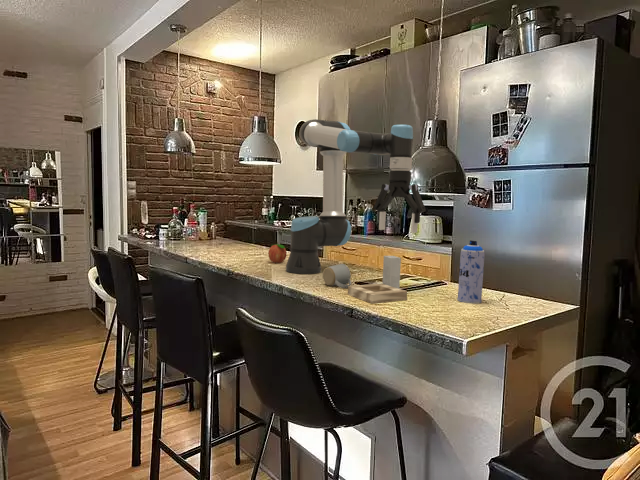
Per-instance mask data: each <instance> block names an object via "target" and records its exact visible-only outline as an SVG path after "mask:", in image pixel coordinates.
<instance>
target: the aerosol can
mask: <svg viewBox="0 0 640 480" xmlns="http://www.w3.org/2000/svg"><path fill="white" fill-rule="evenodd" d="M459 255H460V260H459V275H458V277H459V278H458V289H457V298H456V300H457V301H458V302H460V303H465V304H473V305H474V304H481V303H482V302H483V300H482V297H483V295H482V293H483V282H484V281H483V279H484V266H485V250H484V249H483V247H482V246H480V245H479V244H478V241H477V240H469V243H468V244H467V245H464V246H463V248H461V251H460V254H459Z"/></svg>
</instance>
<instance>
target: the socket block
mask: <svg viewBox="0 0 640 480" xmlns="http://www.w3.org/2000/svg"><path fill="white" fill-rule="evenodd" d="M382 283H383V282H382ZM382 283H371V284H361V285H359V284H358V285H351V286H348V288H347V295H349V296H350V297H351V296H352V297H353V298H356V299H359V300H362V301H363V302H366V301H367V302H366V303H370V304H372V303H373V304H381V303H389V302H390V303H391V302H397V301H407V300H408V291H407V290H404V289H401V288H399V289H398V288H395V287H391V286H388V285H385V284H382Z"/></svg>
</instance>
